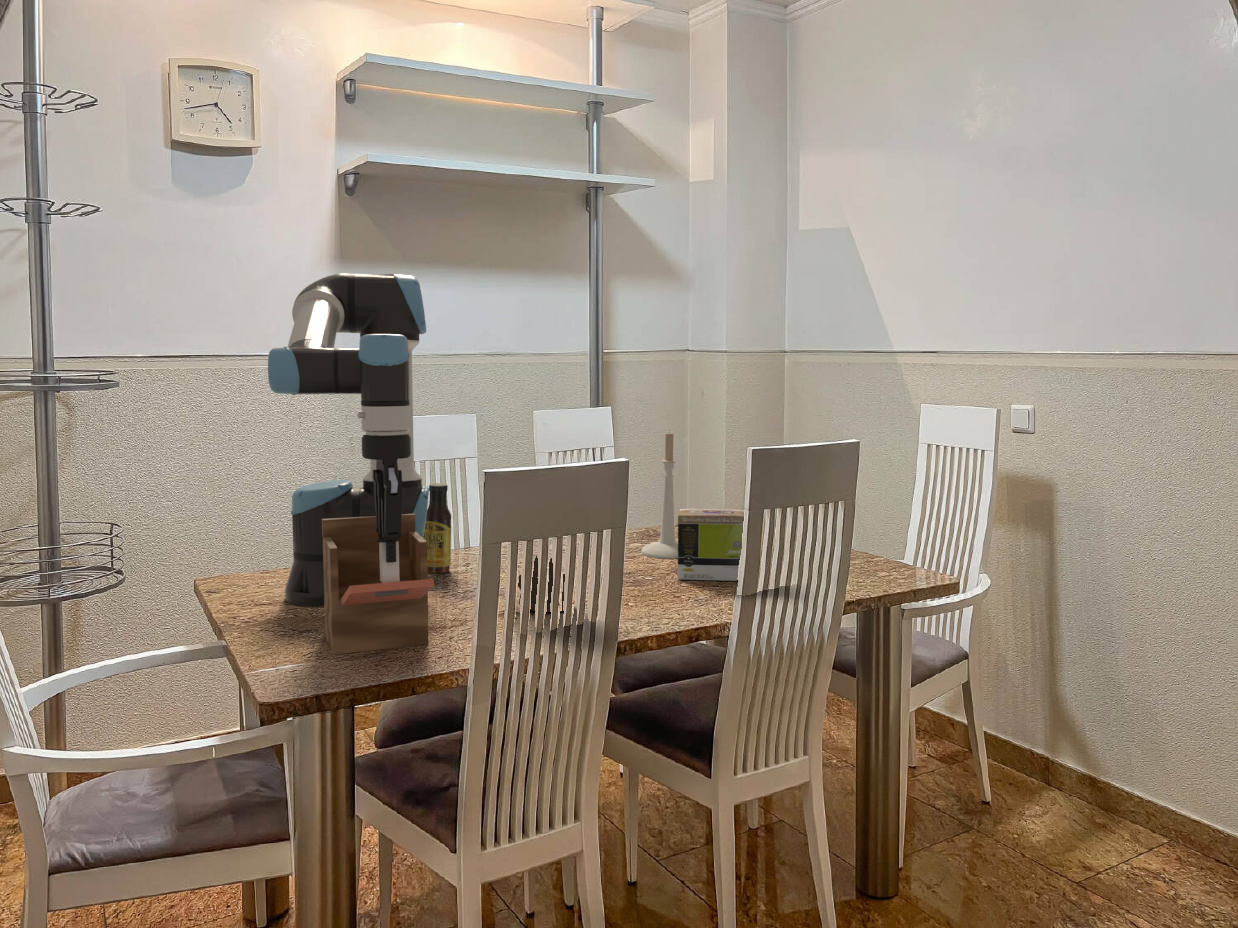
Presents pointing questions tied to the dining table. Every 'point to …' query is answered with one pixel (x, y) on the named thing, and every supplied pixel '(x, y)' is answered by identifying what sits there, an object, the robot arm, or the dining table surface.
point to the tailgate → (386, 592)
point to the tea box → (709, 543)
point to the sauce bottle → (438, 530)
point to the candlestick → (666, 511)
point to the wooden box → (358, 563)
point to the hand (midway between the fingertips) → (389, 580)
